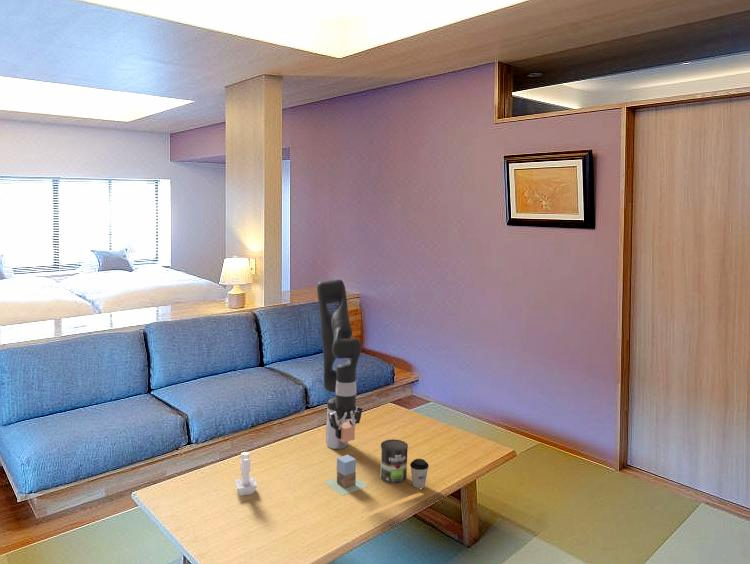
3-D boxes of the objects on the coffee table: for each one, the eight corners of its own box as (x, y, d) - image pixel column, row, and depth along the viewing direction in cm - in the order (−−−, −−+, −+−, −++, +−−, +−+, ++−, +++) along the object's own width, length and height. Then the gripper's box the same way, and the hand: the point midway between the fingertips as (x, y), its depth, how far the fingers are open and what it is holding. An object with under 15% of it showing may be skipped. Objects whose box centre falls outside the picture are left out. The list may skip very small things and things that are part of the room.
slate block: (336, 470, 214) (336, 457, 213) (347, 467, 217) (347, 454, 216) (344, 475, 210) (344, 462, 209) (355, 472, 213) (355, 459, 213)
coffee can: (410, 484, 217) (411, 449, 215) (384, 487, 215) (385, 451, 212) (402, 471, 227) (403, 438, 225) (376, 474, 224) (377, 440, 222)
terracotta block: (335, 437, 212) (335, 425, 211) (346, 434, 215) (347, 422, 214) (343, 442, 208) (343, 429, 207) (354, 439, 211) (354, 426, 210)
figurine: (253, 484, 215) (253, 446, 212) (257, 496, 206) (257, 457, 204) (233, 487, 212) (233, 449, 210) (237, 500, 203) (236, 460, 201)
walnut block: (336, 483, 215) (337, 470, 214) (347, 479, 218) (347, 467, 217) (344, 488, 211) (344, 475, 210) (355, 484, 214) (355, 472, 213)
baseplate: (323, 484, 215) (323, 482, 215) (349, 475, 223) (349, 473, 223) (342, 498, 206) (342, 495, 206) (368, 488, 213) (368, 485, 213)
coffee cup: (405, 485, 216) (406, 460, 215) (418, 480, 220) (419, 455, 219) (418, 493, 211) (419, 467, 209) (431, 487, 215) (432, 462, 214)
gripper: (335, 398, 202) (334, 444, 204) (367, 391, 211) (366, 435, 213) (323, 392, 208) (323, 437, 210) (356, 386, 217) (355, 429, 219)
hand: (345, 436), depth 212 cm, fingers closed on terracotta block, 5 cm apart
